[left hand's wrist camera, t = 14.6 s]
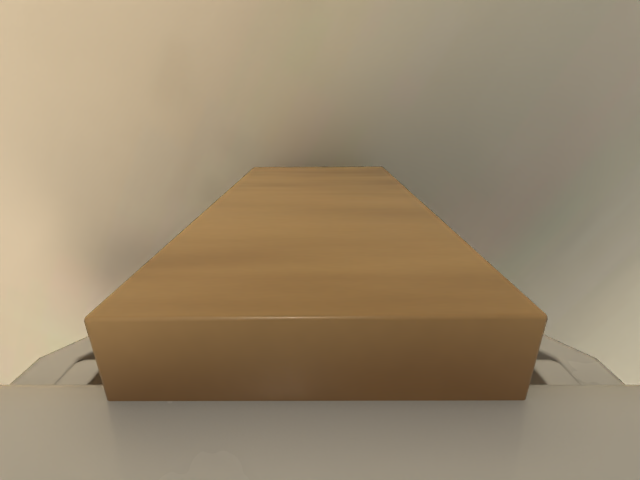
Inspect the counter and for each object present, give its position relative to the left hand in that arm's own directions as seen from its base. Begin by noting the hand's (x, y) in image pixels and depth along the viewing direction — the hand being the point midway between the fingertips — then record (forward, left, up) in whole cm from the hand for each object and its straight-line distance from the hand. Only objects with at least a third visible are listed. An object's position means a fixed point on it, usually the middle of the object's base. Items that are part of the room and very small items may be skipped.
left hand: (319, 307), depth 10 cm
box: (+8, -6, -7) cm, 12 cm away
